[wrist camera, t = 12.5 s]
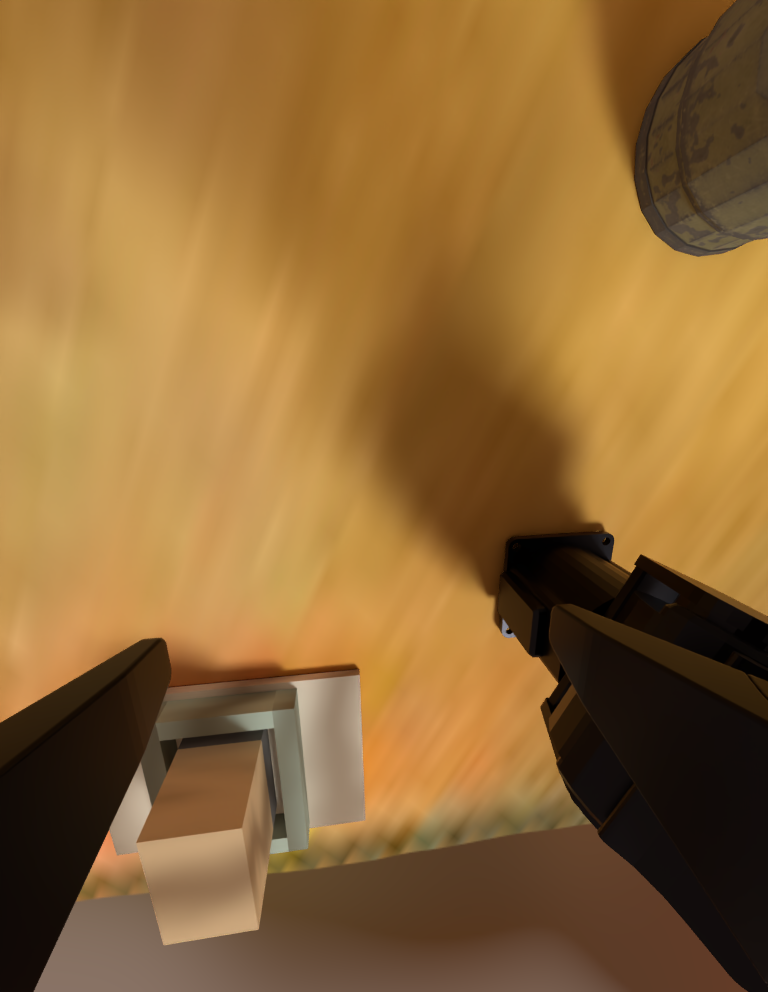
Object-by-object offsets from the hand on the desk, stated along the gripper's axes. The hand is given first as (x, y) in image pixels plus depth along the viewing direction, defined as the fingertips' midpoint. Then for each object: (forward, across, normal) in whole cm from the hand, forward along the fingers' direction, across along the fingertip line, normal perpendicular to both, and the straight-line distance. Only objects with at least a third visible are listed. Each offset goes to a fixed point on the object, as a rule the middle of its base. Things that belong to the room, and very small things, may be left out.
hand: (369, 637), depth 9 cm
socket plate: (+12, +8, +17) cm, 22 cm away
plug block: (+12, +8, +17) cm, 22 cm away
